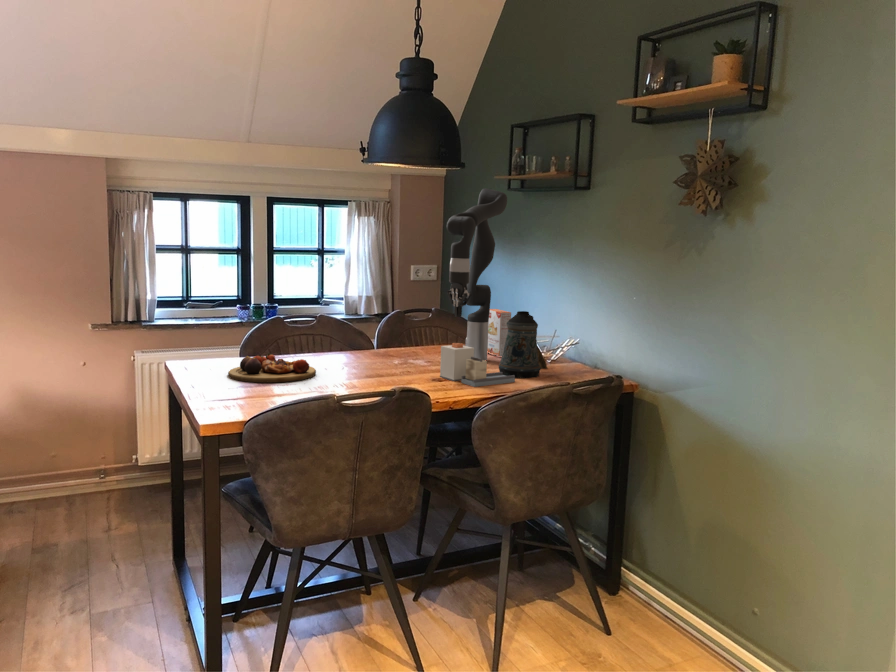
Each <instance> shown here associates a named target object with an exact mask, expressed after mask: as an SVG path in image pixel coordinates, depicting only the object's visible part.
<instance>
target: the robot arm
mask: <svg viewBox="0 0 896 672" xmlns="http://www.w3.org/2000/svg"><path fill="white" fill-rule="evenodd" d="M477 200H478V201H477V205H473V206H471V207H470V208H468V209H467V210H465V211H463V212H459V213H457V214H454V215H452V216H451V217H450V218H448V219H447V222H446V230H447V232H448V233H449V234H450V235H452V236H459V237H460V236H462V238H461V239H460V241H454V242H452V243H451V246H450V261H449V273H448V274H449V276H448V277H449V279H448V281H449V283H450V289H449V290H447V291H446V294H447V297H448V300H449V303H450V304H451V305H453V307H454V309H453V310H454V317H457V318H459V317H460V318H461V317H462V314H463V307H464V306H466V305H467V306H470V307H479V309H477V310H476V311H473V312H471V313H468V315H467V323H466V324H467V325H466V327H467V330H466V338H465V346H468V347H472V348H474V357H475V358H479V359H482V360H484V361H485V360H487V361H488V354H487V351H488V325H489V313H490V309H491V298H492V292H491V287H490V286H489V285H488V284H477V283H478V281H479V279H480V276H481V275H482V274H483V273H484V271H485V270H486V269H487V268H488V267H489V265H490V264H491V263H492V261H493V259H494V255H495V250H496V249H495V247H496V242H495V238H494V235H493V233H492V231H491V228H490V225H489V221H488V220H489V219H491V218H493V217H496V216H499V215H501V214H502V213H503V212H504V211H505V210H506V208H507V204H508V195H507V194H506V193H505V192H503V191H499V190H496V189H491V188H485V187H484V188H482V189H481V191H480V192H479V195H478V198H477ZM473 237H474V238H473ZM472 241H473V244H472ZM471 245H472V250H471ZM470 251H471V252H470ZM470 253H471V256H470ZM470 257H471V259H470Z"/></svg>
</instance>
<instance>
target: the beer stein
mask: <svg viewBox="0 0 896 672" xmlns="http://www.w3.org/2000/svg"><path fill="white" fill-rule="evenodd" d="M538 326H539V324H538V323H537V321H536V320H535V319H534V316H533V315H531V314H530V312H529V311H526V310H523V311H520V310H518V311H517V312H516V313H515V315H514V316H511V319H510V320H509V321H508V322H507V328H508V332H507V337H506V342H505V347H504V351H503V355H502V358H500V361H499V364H498V370H499V371H498V372H503V375H505V376H511V375H515V379H533V378H538V377H539V375H540V371H541V368H540V365H539V361H538V353H537V346H538V342H537V336H538V328H539V327H538Z"/></svg>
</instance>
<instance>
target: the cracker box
mask: <svg viewBox="0 0 896 672" xmlns="http://www.w3.org/2000/svg"><path fill="white" fill-rule="evenodd" d="M511 318H512V312H511V311H507V310H502V309H498V308H490V313H489V325H488V352H490V353H493V354H496V355H498V356H502V355H503V351H504V347H505V342H506V337H507V332H508V328H507V322H508V321H509V320H510V319H511Z"/></svg>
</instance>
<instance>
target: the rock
mask: <svg viewBox="0 0 896 672" xmlns="http://www.w3.org/2000/svg"><path fill="white" fill-rule="evenodd" d="M540 349H541V348H539V346H538V345H537V353H538V361H539V365H540V368H541V369H542V370H544V369H548V365H547V362H546V361H547V360H546V359H545V357H544V356H543V354H542V351H541V350H540ZM541 369H540V370H541Z"/></svg>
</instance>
